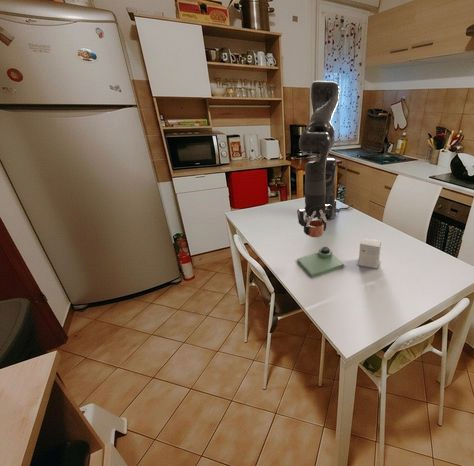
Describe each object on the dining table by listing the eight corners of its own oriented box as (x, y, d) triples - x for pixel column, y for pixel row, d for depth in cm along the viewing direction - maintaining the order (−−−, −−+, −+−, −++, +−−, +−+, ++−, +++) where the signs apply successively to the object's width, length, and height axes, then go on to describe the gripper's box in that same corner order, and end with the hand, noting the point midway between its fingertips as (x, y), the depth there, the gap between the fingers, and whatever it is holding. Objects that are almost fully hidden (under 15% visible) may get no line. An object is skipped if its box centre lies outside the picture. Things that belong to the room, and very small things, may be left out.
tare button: (326, 249, 116) (326, 246, 116) (330, 252, 114) (330, 249, 113) (320, 251, 115) (320, 247, 114) (324, 254, 112) (324, 251, 112)
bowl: (318, 228, 106) (318, 218, 104) (326, 235, 101) (326, 224, 99) (304, 232, 103) (303, 221, 101) (311, 239, 98) (311, 228, 96)
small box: (379, 261, 113) (381, 240, 108) (377, 269, 108) (380, 247, 103) (360, 258, 115) (362, 237, 110) (357, 265, 110) (360, 243, 105)
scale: (327, 252, 119) (327, 246, 118) (343, 266, 109) (344, 260, 108) (297, 261, 113) (297, 255, 111) (312, 277, 103) (312, 271, 101)
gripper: (301, 197, 88) (303, 240, 96) (337, 191, 95) (335, 232, 102) (292, 191, 94) (294, 232, 102) (326, 185, 100) (325, 224, 108)
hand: (315, 232), depth 102 cm, fingers closed on bowl, 6 cm apart
